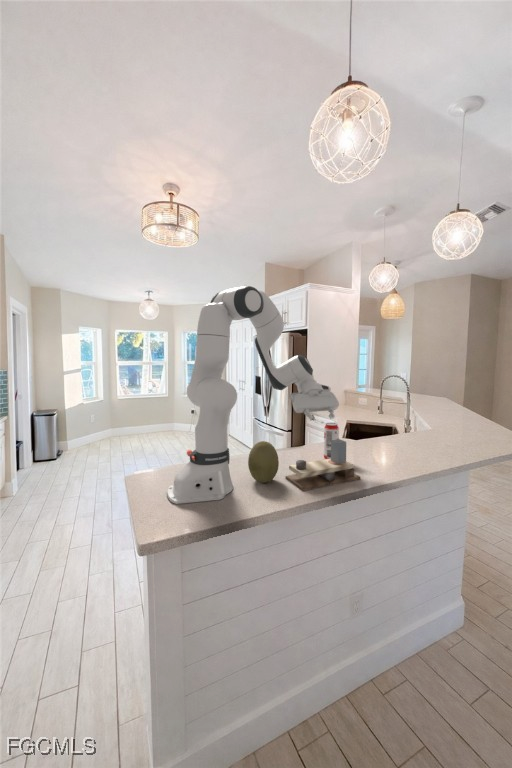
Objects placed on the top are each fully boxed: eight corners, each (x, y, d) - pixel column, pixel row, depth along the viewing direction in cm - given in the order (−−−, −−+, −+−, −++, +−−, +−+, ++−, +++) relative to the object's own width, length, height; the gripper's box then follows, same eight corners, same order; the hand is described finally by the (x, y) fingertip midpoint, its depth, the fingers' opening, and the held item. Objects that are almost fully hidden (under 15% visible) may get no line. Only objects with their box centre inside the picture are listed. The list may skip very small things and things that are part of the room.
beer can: (322, 460, 140) (322, 424, 138) (326, 456, 145) (326, 421, 144) (336, 462, 137) (336, 426, 135) (340, 458, 142) (340, 423, 141)
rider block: (337, 463, 119) (337, 442, 118) (330, 460, 123) (331, 440, 122) (346, 462, 120) (346, 441, 120) (339, 459, 124) (339, 439, 123)
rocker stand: (301, 490, 109) (301, 479, 109) (285, 478, 120) (285, 468, 120) (360, 479, 118) (360, 468, 118) (340, 468, 129) (340, 459, 129)
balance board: (301, 477, 110) (301, 466, 110) (289, 469, 119) (289, 459, 118) (353, 468, 119) (353, 457, 118) (338, 460, 127) (338, 451, 127)
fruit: (244, 478, 121) (243, 439, 120) (271, 473, 125) (271, 436, 124) (254, 489, 110) (254, 447, 109) (284, 484, 114) (283, 443, 113)
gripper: (291, 388, 130) (303, 416, 122) (332, 386, 138) (346, 412, 130) (285, 398, 135) (297, 425, 127) (326, 395, 143) (339, 421, 134)
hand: (322, 418), depth 128 cm, fingers open, 8 cm apart
